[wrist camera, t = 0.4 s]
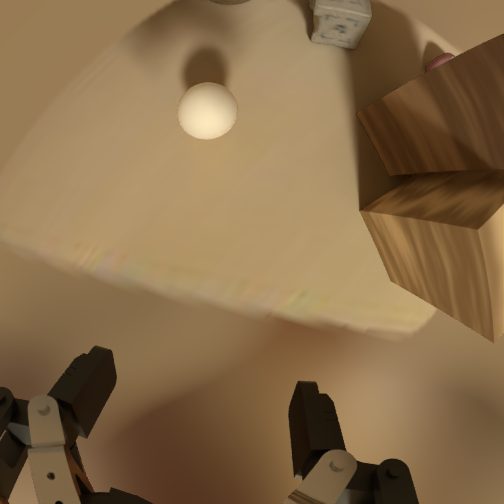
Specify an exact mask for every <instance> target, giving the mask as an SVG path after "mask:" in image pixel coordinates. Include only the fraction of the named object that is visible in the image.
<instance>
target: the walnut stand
mask: <svg viewBox="0 0 504 504" xmlns="http://www.w3.org/2000/svg"><path fill="white" fill-rule="evenodd" d="M356 115H357V117H358V118H359V120H360V122H361V123H362V125H363V127H364V129H365V130H366V132H367V134H368V136H369V138H370V139H371V141H372V143H373V145H374V147H375V149H376V150H377V152H378V154H379V156H380V158H381V160H382V162H383V164H384V166H385V168H386V170H387V172H388V174H389V176H393V175H403V174H415V173H427V172H442V171H459V170H481V169H504V34H502V35H499V36H497V37H495V38H493V39H490V40H488V41H486V42H484V43H482V44H480V45H478V46H476V47H474V48H472V49H470V50H468V51H466V52H464V53H462V54H460V55H458V56H456V57H454V58H452V59H450V60H448V61H446V62H444V63H442V64H441V65H439V66H437V67H435V68H433V69H431V70H429V71H428V72H426V73H424V74H422V75H420V76H419V77H417V78H415V79H413V80H411V81H410V82H408V83H406V84H404V85H403V86H401V87H399V88H398V89H396V90H394V91H392V92H391V93H389V94H387V95H386V96H384V97H382V98H381V99H379V100H377V101H376V102H374V103H372V104H371V105H369V106H367V107H366V108H364V109H363V110H361V111H359V112H358V113H356Z"/></svg>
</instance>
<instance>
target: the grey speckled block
mask: <svg viewBox="0 0 504 504" xmlns="http://www.w3.org/2000/svg"><path fill="white" fill-rule="evenodd" d="M308 2H309V7H310V8H311V10H312V11H313V23H314V30H313V32H312V36H311V41H312V42H315V43H323V44H329V45H335V46H341V47H345V48H350V49H356V48H357V46H358V44H359V41H360V39H361V37H362V36H363V33H364V32H365V30H366V28H367V26H368V24H369V23H370V21H371V18H372V11H371V4H370V0H308Z"/></svg>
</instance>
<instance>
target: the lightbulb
mask: <svg viewBox="0 0 504 504" xmlns="http://www.w3.org/2000/svg"><path fill="white" fill-rule="evenodd" d="M237 111H238V107H237V102H236V99H235V97H234V96H233V94H232V93H231V92H230V91H229V90H228V89H227V88H226V87H224V86H222V85H220V84H217V83H212V82H205V83H200V84H197V85H195V86H193V87H191V88H190V89H188V90H187V91H186V92H185V93H184V94H183V96H182V97H181V99H180V101H179V104H178V109H177V116H178V120H179V123H180V125H181V126H182V128H183V129H184V130H185V131H186V132H187V133H188V134H189V135H191V136H193V137H195V138H199V139H213V138H217V137H219V136H221V135H223V134H225V133H226V132H227V131H228V130H230V128H231V127H232V126H233V124H234V122H235V121H236V117H237Z"/></svg>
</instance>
